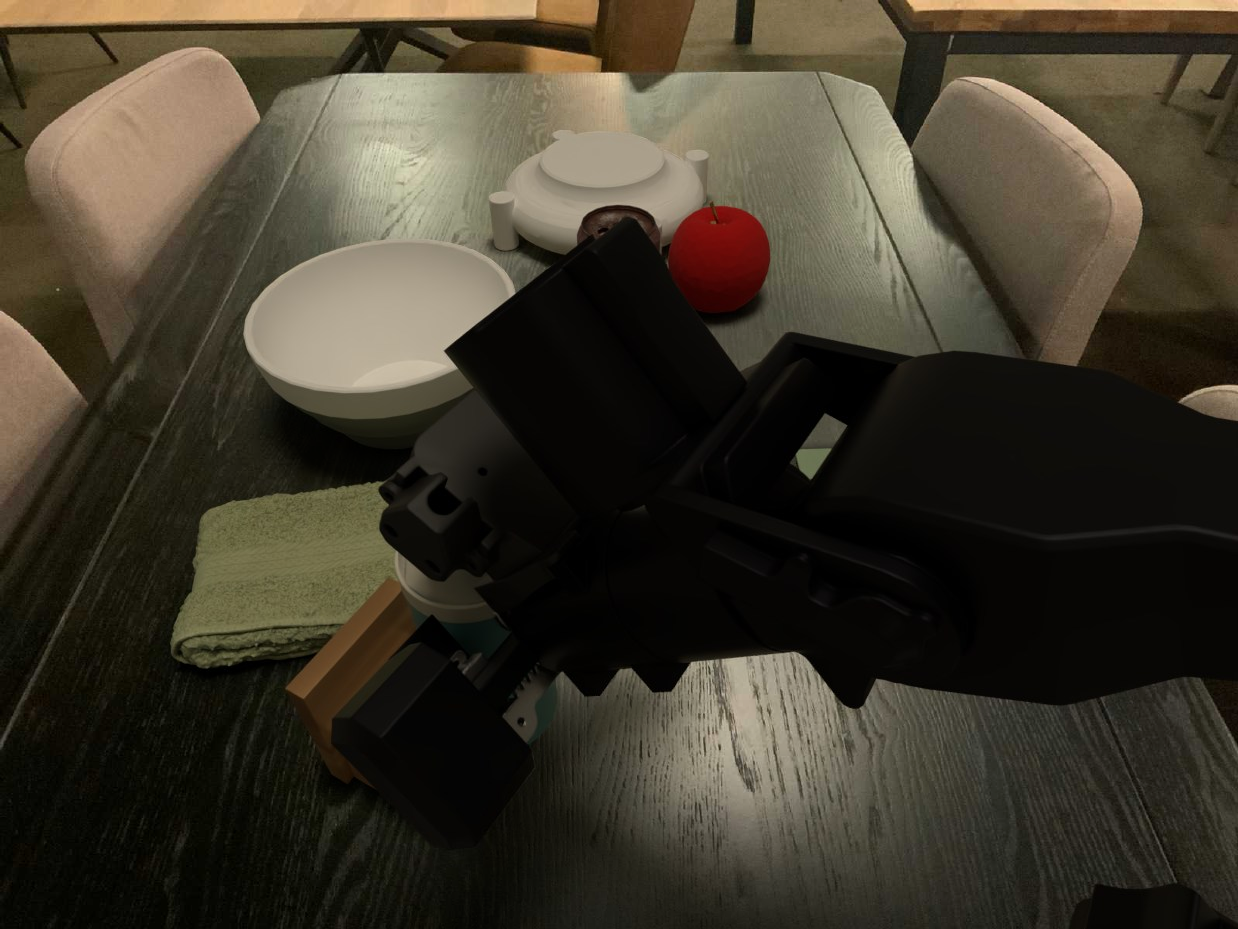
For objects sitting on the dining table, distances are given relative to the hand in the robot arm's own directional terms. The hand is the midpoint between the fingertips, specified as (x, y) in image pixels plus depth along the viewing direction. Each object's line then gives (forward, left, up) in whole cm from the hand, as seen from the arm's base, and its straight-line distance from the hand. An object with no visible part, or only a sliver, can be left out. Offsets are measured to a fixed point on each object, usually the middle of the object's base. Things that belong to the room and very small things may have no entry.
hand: (464, 622), depth 40 cm
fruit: (+12, -45, -12) cm, 48 cm away
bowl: (+25, -18, -12) cm, 33 cm away
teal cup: (-1, 0, -6) cm, 6 cm away
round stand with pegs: (+29, -51, -12) cm, 60 cm away
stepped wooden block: (+2, +2, -12) cm, 12 cm away
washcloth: (+16, -3, -12) cm, 21 cm away
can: (+13, -31, -12) cm, 36 cm away
